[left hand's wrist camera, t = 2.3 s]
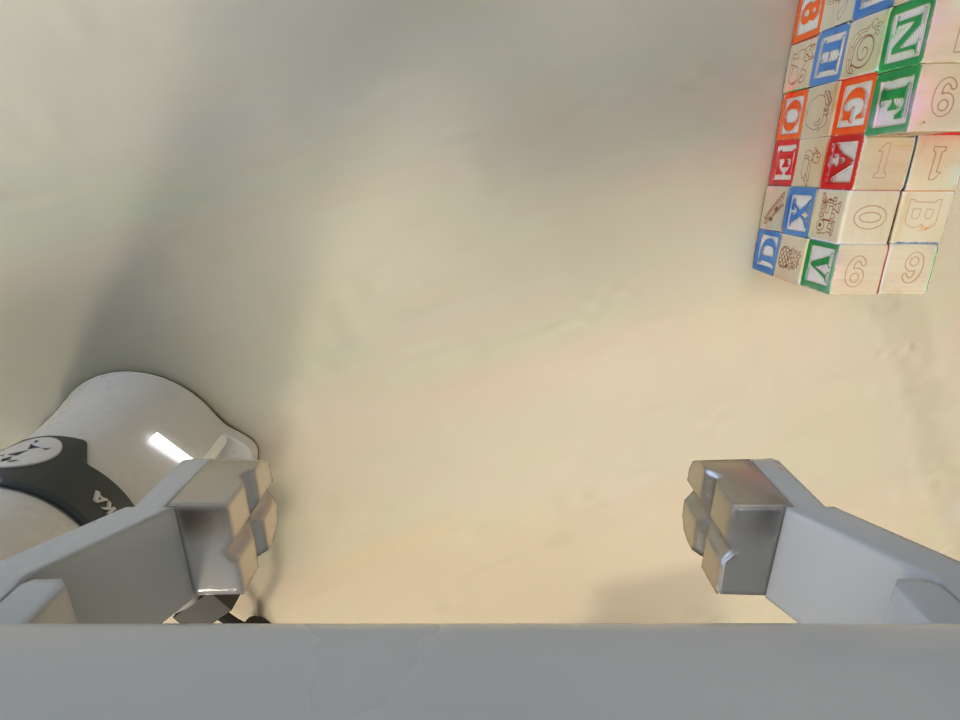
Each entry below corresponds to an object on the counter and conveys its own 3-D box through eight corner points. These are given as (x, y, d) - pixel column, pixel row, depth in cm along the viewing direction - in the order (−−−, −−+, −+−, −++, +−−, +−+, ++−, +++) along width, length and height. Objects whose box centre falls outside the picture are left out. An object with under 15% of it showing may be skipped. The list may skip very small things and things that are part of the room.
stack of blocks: (829, 269, 41) (969, 309, 30) (749, 269, 41) (858, 308, 30) (906, -64, 34) (1130, -183, 23) (810, -66, 34) (985, -187, 22)
